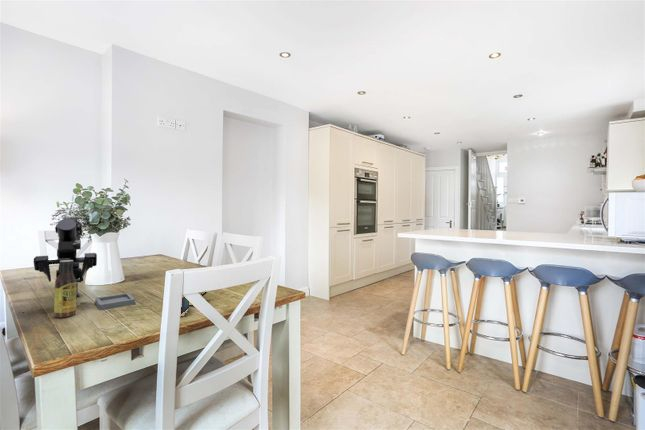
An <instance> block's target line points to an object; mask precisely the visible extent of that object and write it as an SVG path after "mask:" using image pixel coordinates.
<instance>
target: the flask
mask: <svg viewBox="0 0 645 430" xmlns="http://www.w3.org/2000/svg"><path fill="white" fill-rule="evenodd" d="M188 307H189V308H190V306H189V301H188V300H187V299H186V298H185V297H183V298H182V307H181V314H182V313H183V312H185V311H186V310H187V309H188Z"/></svg>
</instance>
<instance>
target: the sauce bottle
mask: <svg viewBox="0 0 645 430" xmlns="http://www.w3.org/2000/svg"><path fill="white" fill-rule="evenodd" d="M73 264H74V261H73V260H63V261H60V262H59V264H58V266H59V265H60V274H59V276H58V277H57V278H56V277H55V278H56V279H55V281H54V284H55V286H54V300H53V302H54V304H53V312H54V314H53V316H54V318H58V319H59V318H60V319H61V318H67V317H72V316H73V315H75V314H76V312H77V311H76V310H77V297H76V296H77V282H76V279H75V277H74V274H73Z"/></svg>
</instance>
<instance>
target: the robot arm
mask: <svg viewBox="0 0 645 430" xmlns="http://www.w3.org/2000/svg"><path fill="white" fill-rule="evenodd" d="M54 228H55V233H56V234H57V237H58V243H57V249H56V257H57V258H49V255H36V256H34V258H33V267H34V270H35V271H36V272H40V273H43V274H44V275H45V276H46V278H47V280H48V282H49V283H50V282H51V281H52V276H51V275H52V274H51V269H50V265H58V269H56V272H55V278H57V277H58V276H59V274H60V265H59V262H60V261H63V260H73V261H74V264H73V274H74V277H75V279H76V282H77V296H76V297H78V298H79V297H80V293H79V290H78V288H79V287H78V286H79V283H82V282H84V277H85V275H86V273H87V272H88V271H89V270H90V269H92V268H93V267H97V263H98V261H97V257H98V255H97V253H96V252H87V253H86V252H85V253H84V257H83V256H80V257H77V251H78V250H82V249H81V247H82V244H81V236H83V224H82V223H81V222H80V221H78V217H75V216H74V217H63V219H62V220H60V221H58V222H57V223H56V226H55V227H54ZM80 264H82V267H80Z"/></svg>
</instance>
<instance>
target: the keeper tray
mask: <svg viewBox="0 0 645 430" xmlns="http://www.w3.org/2000/svg"><path fill="white" fill-rule="evenodd" d="M94 304H95V305H96V307H97V308H98V310H99V311H104V310H109V309H113V308H120V307H121V308H122V307H125V306H132V305H136V299H135V297H133V295H132V294H131V293H130V292H125V293H118V294H112V295H111V294H110V295H107V296H100V297H95V300H94Z"/></svg>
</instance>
